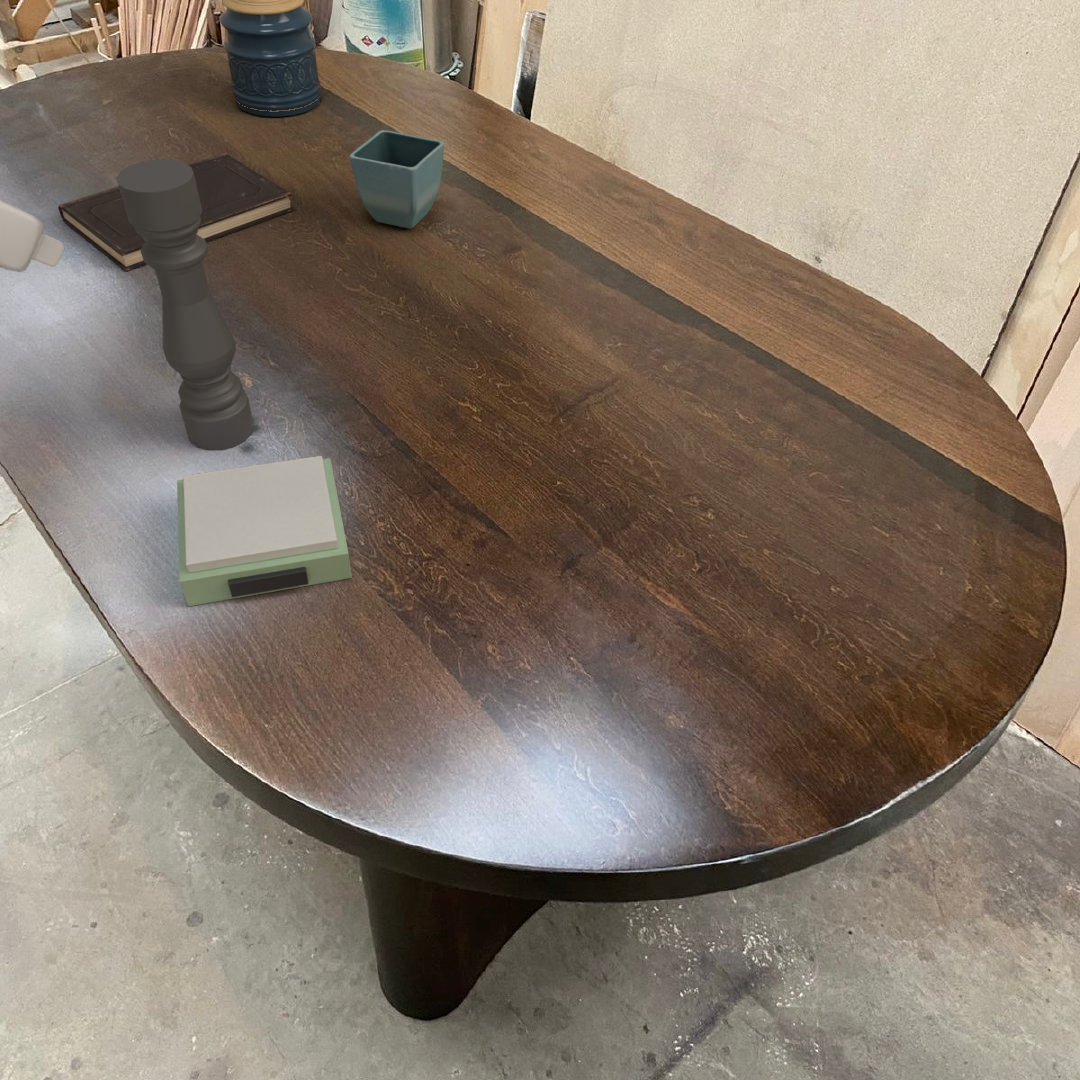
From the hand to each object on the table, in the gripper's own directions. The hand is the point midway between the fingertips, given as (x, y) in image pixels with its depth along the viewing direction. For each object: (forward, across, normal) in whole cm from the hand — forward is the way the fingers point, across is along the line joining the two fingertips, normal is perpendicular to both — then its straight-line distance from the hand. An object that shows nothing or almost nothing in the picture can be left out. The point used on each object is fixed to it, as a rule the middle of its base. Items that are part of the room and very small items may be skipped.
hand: (14, 231), depth 67 cm
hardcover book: (+44, +36, -8) cm, 57 cm away
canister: (+67, +53, -31) cm, 91 cm away
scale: (+20, -15, +15) cm, 29 cm away
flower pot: (+56, +14, -20) cm, 61 cm away
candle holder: (+26, 0, +10) cm, 28 cm away
